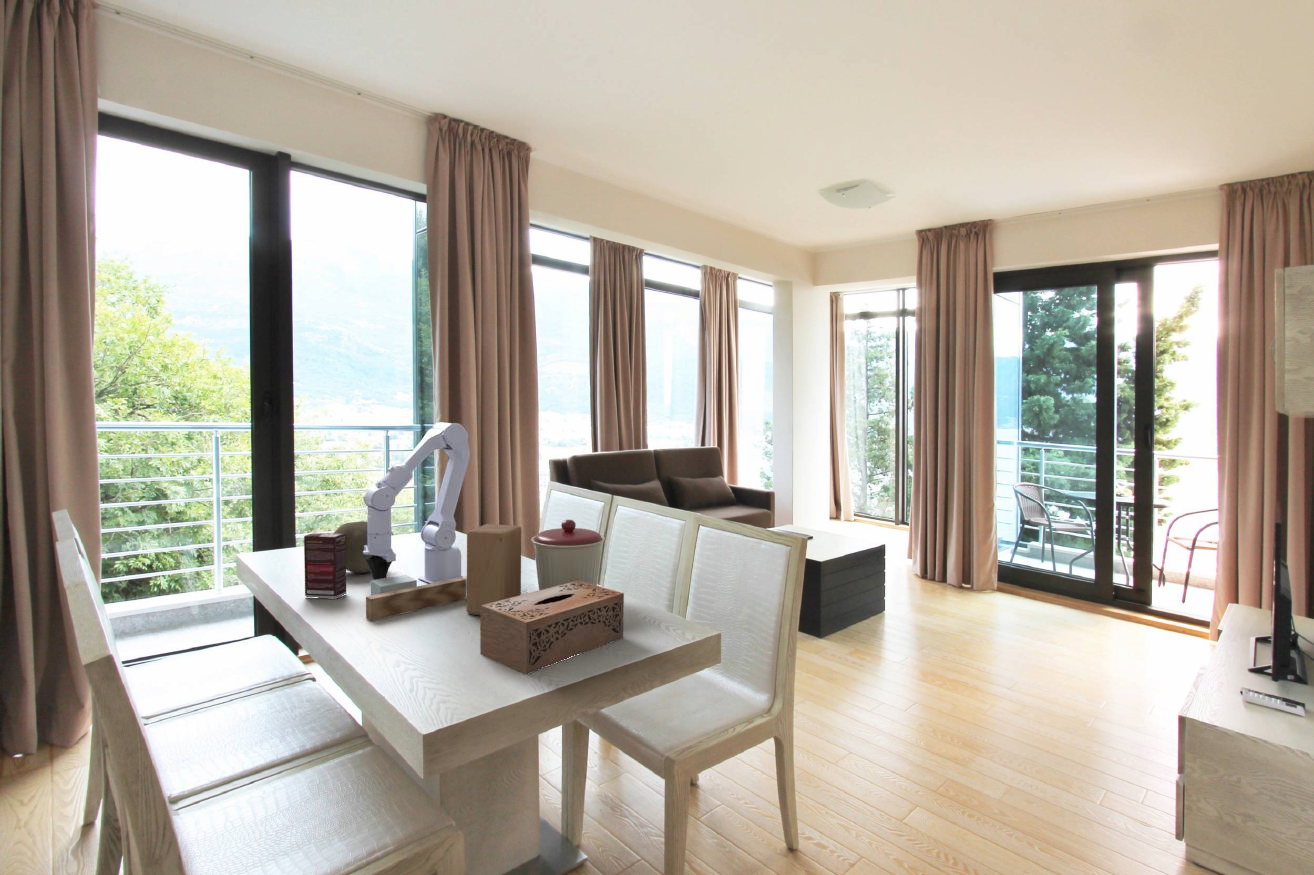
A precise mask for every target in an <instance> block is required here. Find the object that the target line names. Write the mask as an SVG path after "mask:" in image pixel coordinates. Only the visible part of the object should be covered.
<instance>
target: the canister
mask: <svg viewBox="0 0 1314 875" xmlns="http://www.w3.org/2000/svg"><path fill="white" fill-rule="evenodd" d="M576 525H577V524H576V522H575V521H574V520H573V519H565V520H563V521H562V522H561V524H560V526H561V528H551V529H547V530H543V531H540V532H538V533H537V534H536V535H534V536H533V537H531V539H530V540H531V542H532V544H533V546H534V556H535V557H534V558H535V566H536V574H537V576H536V577H537V582H538V583H537V585H538V591H539V590H543V589H547V588H550V587H554V586H558V585H562V584H566V583H570V582H574V581H578V580H579V581H582V582H586V583H589V584H593V585H596V586H598V581H599V580H598V579H599V572H600V563H601V556H602V548H603V547H602V546H603V544H604V543H605V540H606V538H605V536H603V535H601V534H600V533H599V532H597V531H595V530H592V529H586V528H579V527H578V528H577V527H576Z"/></svg>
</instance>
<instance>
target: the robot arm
mask: <svg viewBox="0 0 1314 875" xmlns="http://www.w3.org/2000/svg"><path fill="white" fill-rule="evenodd" d="M468 440H469V433H468V432H467V430H466V429H465V427H464V426H463V425H462V424H460V423H458V422H454V423H453V422H452V423H451V422H443V421H440V422H439V421H438V422H437V423H435V424H434V425H433V426H432V428H430V429H429V430H428V431H427V432H426V433H425V435H424V436H423V438H422V439H421V440H420V441H419V443H418V444H417V445H416V446H415V448H414V449H413V450H412V451H411V452H410V453H409V455H408V456H407V457H406V458H405V459H404V461H403V462H402V463H396V464H394V465H391V466H389V467H388V468H387V473H385V475H384V476H383V477H382V478H381V479H380V480H379V481H376V482H375V485H376V486H374V487H370V488H369V489H368V490H367V491H366V492H365V496H364V497H363V502H364V504H365V505H366V507H367V517H366V518H367V520H366V522H367V534H368V545H365V546H364V551H363V554H365V555H372V556H371V557H369V558H366V561H367V563H368V565H369V567H370V569H371V570H370V572H371V575H372V580H376V579H382V578H387V575H388V572H389V569H390V566H391V565H392V562H396V560H397V559H396V558H397V555H396V553H395V552H394V550H393V548H392V507H393V506H394V505H395V503H396V498H397V496H398V495H399V494H400V493H401V491H402V490H403V489H404V488H405V487H406V486H407V485H408V484H409V483H410V481H411V480H412V479H413V472H414V470H416V468H418V467H419V466H420V464H421V463H423V461H425V460H426V458H427V457H428V456H430V454H432V452H433V451H436V450H443V451H444V452H445V454H446V456H448V460H447V465H446V467H445V472H444V476H443V480H442V481H441V482H442V483H441V485H440V490H439V492H438V493H439V494H438V496H437V499H436V503H435V508H434V511H433V512H432V513H430V515H429V516H428V518H427V520H426V523H425V524H424V525H423V527H422V528H421V530H420V538H421V540H422V541H423V542H424V575H422V576H419V577H418V578H417V579H418V580H421V581H423V582H425V583H427V584H431V583H436V582H441V581H446V580H451V579H456V578H463V577H464V576H462V553H461V550H460V548H459V546H456V545H454V544H455V543H456V540H457V539H456V538H457V536H456V527H457V523H456V519H455V516H454V515H455V512H456V509H457V504H458V501H459V498H460V493H461V490H462V486H463V482H464V480H465V476H466V472H467V468H468V465H469V461H470V457H471V451H470V446H469V442H468Z"/></svg>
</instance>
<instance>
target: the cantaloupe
mask: <svg viewBox="0 0 1314 875" xmlns="http://www.w3.org/2000/svg"><path fill="white" fill-rule="evenodd" d="M333 533H338V534H346V571H348V572H352V573H355V574H365V573H368V572H371V569H370V567H369V565H368V563H367V561H366V558H369V557H371V556H372V555H365V554H363V551H364V546H365V545H368V534H367V521H364V520H363V521H362V520H361V521H354V522H345V523H344V524H342V525H340V526H339V527H338V528H336V529H335V531H334V532H333Z"/></svg>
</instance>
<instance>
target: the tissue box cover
mask: <svg viewBox="0 0 1314 875" xmlns="http://www.w3.org/2000/svg"><path fill="white" fill-rule="evenodd" d="M624 595H625V593H624V592H621V591H617V590H614V589H610V588H607V587H604V586H599V585H597V586H596V585H593V584H589V583H586V582H582V581H579V580H578V581H574V582H570V583H566V584H562V585H558V586H554V587H550V588H547V589H543V590H539V589H538V590H536V591H535V590H534V591H531V592H527V593H523V594H521V595H519V596H516V597H512V598H508V599H504V600H500V601H496V602H492V603H488V604H485V605H481V615H480V626H479V627H480V631H479V632H480V633H479V634H480V639H479V640H480V645H479V646H480V650H479V652H480V653H479V654H480V655H481V656H484V657H486V658H488V659H490V660H492V661H495V662H496V663H499V664H501V665H503V666H504V667H505V666H506V667H507V668H510V669H512V670H514V671H516V672H518V673H520V672H521V674H523V675H525V674H527V675H529V674H531V673H530V672H532V673H534V672H533V671H535V672H537V671H539V670H538V669H540V670H542V669H541V668H542V667H545V666H548V665H551V664H553V665H555V664H554V663H556V662H559V661H561V660H564V659H567V658H569V657H571V656H574V655H577V654H580V653H582V654H585V653H588V652H591V651H593V650H596V649H598V648H600V647H599V646H601V647H603V646H602V645H604V644H606V645H608V644H607V643H609V644H611V643H610V642H612V643H614V642H617V641H619V639H620V640H622V639H624V612H625V610H624V608H625V607H624V606H625V604H624V602H625V596H624ZM616 640H617V641H616ZM613 641H614V642H613ZM604 646H605V645H604ZM595 648H596V649H595ZM592 649H593V650H592ZM587 651H588V652H587ZM584 652H585V653H584ZM580 655H581V654H580ZM577 656H578V655H577ZM574 657H575V656H574ZM569 659H570V658H569ZM567 660H568V659H567ZM564 661H565V660H564ZM561 662H562V661H561ZM559 663H560V662H559ZM556 664H557V663H556ZM551 666H552V665H551ZM548 667H549V666H548ZM545 668H546V667H545ZM536 670H537V671H536ZM528 673H529V674H528Z"/></svg>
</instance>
